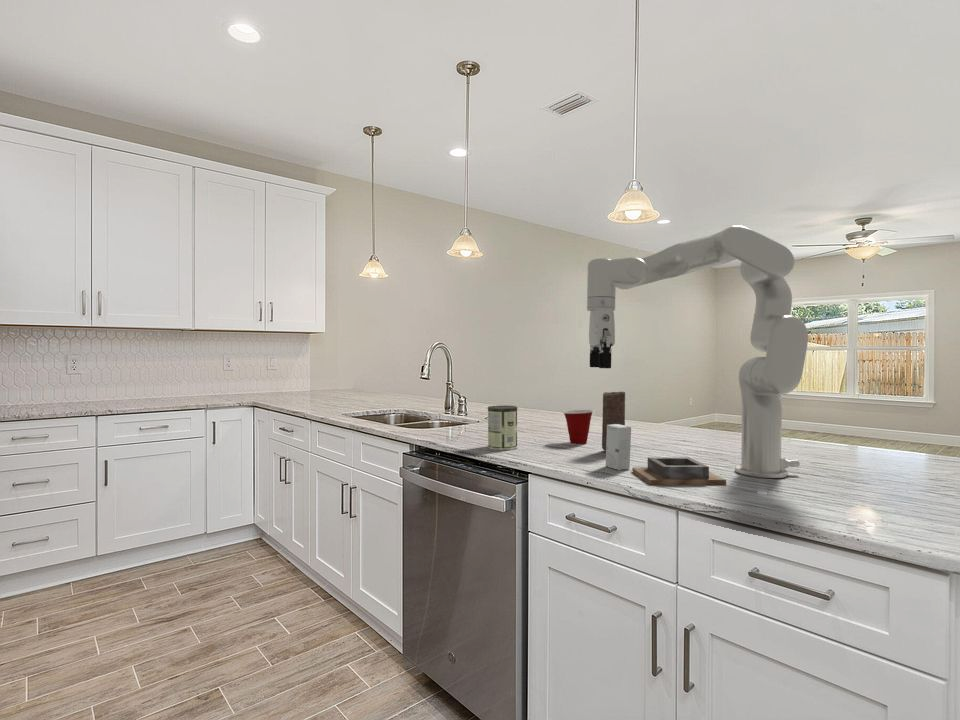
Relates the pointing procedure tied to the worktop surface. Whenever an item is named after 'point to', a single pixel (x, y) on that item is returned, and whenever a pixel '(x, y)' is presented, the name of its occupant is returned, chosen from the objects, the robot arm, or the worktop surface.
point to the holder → (677, 472)
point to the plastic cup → (578, 425)
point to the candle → (612, 412)
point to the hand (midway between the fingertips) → (599, 367)
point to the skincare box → (618, 446)
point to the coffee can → (502, 427)
